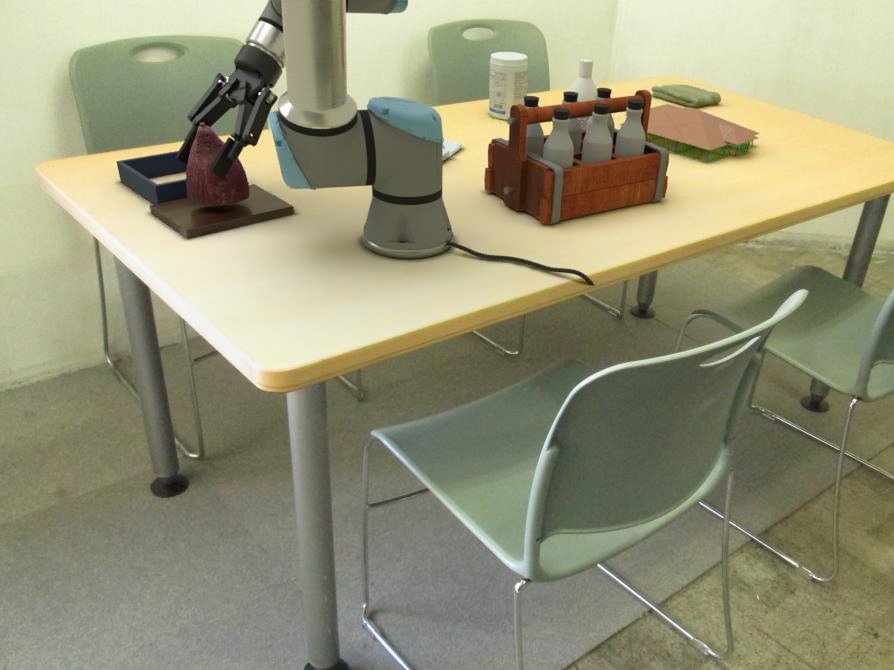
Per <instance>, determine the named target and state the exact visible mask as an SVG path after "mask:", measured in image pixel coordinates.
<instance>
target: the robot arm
mask: <svg viewBox="0 0 894 670" xmlns="http://www.w3.org/2000/svg"><path fill="white" fill-rule="evenodd" d="M408 6H409V0H268V1H267V3H266V5H265V7H264V8H263V10H262V12H261V14H260V16H259V18H258V19H257V20H256V22H255V23H254V25H253V26H252V28H251V30H250V32H249V33H248V35H247V36H246V38H245V40H244V41H245V44H242V46H241V47H240V49H239V50H238V53H237V54H236V55H235V57H234V59H233V63H234V68H235V69H234V71H233V72H232V73H231V74H230V75H229V76H225V75H223V74H222V73H221V72H218V73H217V74H216V75H215V77H214V79H213V81H212V83H211V85H210V86H209V88H208V89H207V90H206V91H205V92H204V94H203V95H202V96H201V97H200V99H199V100H198V102H197V103H196V104H195V105H194V106H193V108H192V109H191V110H190V112H189V113H188V114H187V116H186V119H187V120H188V121H189V122H190V123H191V127H190V129H189V131H188V132H187V134H186V135H185V137H184V141H183V142H182V145H181V146H180V148H179V150H177V151H178V153H177V155H176V157H175V158H177V159H178V160H179V161H181V162H182V163H184V164H185V165H186V166H187V164H188V159H189V155H190V151H191V147H192V145H193V142H194V140H195V138H196V134H197V130H198V128H199V126H201V125H200V123H202V124H205V125H206V126H209V127H210V128H211V127H212V126H213V125H214V124H216V122H218V121H219V120H220V119H221V118H222V117H223V116H224V115H225V114H227V112H228V111H229V110H230V109H235V108H236V107H238V110H237V115H236V120H235V125H234V131H233V133H230V134H229V136H230V137H229V136H228V137H227V138H226V140H225V142H224V143H225V144H224V146H223V147H222V149H221V151H220V153H219V154H218V156H217V158H216V160H215V161H214V163H213V165H212V166H211V168H210V170H209V171H211V172H212V173H213V174H215V175H216V176H217V177H219V178H220V179H222V180H224V178H225V176H226V174H227V173H228V171H229V169H230V168H231V166H232V164H233V162H235V161H236V160H237V158H238V159H239V157H240V155H241V153H242V152H243V150H244V148H246V147H248V146H252V147H256V146H257V145H258V143H259V140H260V138H261V135H262V133H263V131H264V127H265V126H266V123H267V120H268V122H269V126H270V131H271V135H272V139H273V143H274V148H275V151H276V156H277V160H278V166H279V168H280V172H281V177H282V180H283V182H284V184H285V185H286V186H287V187H289V188H290V189H294V190H311V191H316V190H317V189H333V188H350V187H351V188H352V187H368V186H369V187H370V186H371V201H370V203H369V208H368V212H367V216H366V220H365V223H364V225H363V229H362V239H363V240H362V241H363V244H364V246H365V247H366V249H369V250H370V251H372V252H374V253H376V254H379V255H381V256H385V257H391V258H396V259H423V258H428V257H429V258H430V257H434V256H437V255H440V254H442V253H444V252H446V251H448V250H449V249H451V247H453V248H455V249H458V250H460V251H462V252H465V253H467V254H470V255H472V256H473V257H477V258H481V259H487V260H496V261H508V262H515V263H520V264H524V265H527V266H531V267H533V268H535V269H536V268H537V269H540V270H543V271H547V272H551V273H561V274H562V273H563V274H571V275H574V276H575V275H576V276H578V277H580V278H581V279H582V280H584V281H585V282H586V283H587V285H589V286H592V287H593V286H595V283H594V282H593V281H592V279H591V278H590V277H589V276H587V274H585V273H584V272H582V271H580V270H577V269H573V268H566V267H565V268H564V267H553V266H548V265H545V264H541V263H539V262H535V261H532V260H529V259H525V258H521V257H516V256H510V255H497V254H489V253H488V254H487V253H482V252H479V251H476V250H474V249H472V248H469V247H467V246H465V245H462V244H459V243H456V242H455V241H454V232H453V228H452V225H451V221H450V218H449V215H448V212H447V208H446V205H445V202H444V198H443V161H442V160H443V142H444V141H445V139H444V131H443V122H442V121H443V120H442V116H441V115H440V113H439V112H438V111H437V110H436V109H435V108H433V107H432V106H430V105H428V104H427V103H423V102H420V101H416V100H413V99H409V98H402V97H396V96H378V97H372V98H369V100H368V102H367V104H366V109H358V105H357V102H356V100H355V99H354V98H353V97H352V96H350V95H349V94H348V80H347V79H348V72H347V71H348V69H347V67H348V64H347V59H348V58H347V14H375V15H377V14H378V15H386V16H387V15H390V14H402V13H404V12H405V11H406V10H407V8H408ZM283 69H285V75H286V91H285V92H283V93H282V94H281V95H280V97H278V95H277V94H276V93H275V92H274V91H272V90H271V89H274V88H275V86H276V85H277V84H278V81H279V79H280V78H281V76H282V75H283ZM276 102H277V110H274V111H271V110H272V108H273V107H274V106H275V104H276Z"/></svg>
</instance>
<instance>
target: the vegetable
mask: <svg viewBox="0 0 894 670" xmlns="http://www.w3.org/2000/svg"><path fill="white" fill-rule="evenodd" d="M200 125H201V126H199V128H198V130H197V134H196V138H195V140H194V142H193V145H192V147H191V151H190V155H189V159H188V164H187V170H186V171H185V179H186V185H187V196H188V198H189V199H190V200H191V201H194V202H196V203H198V204H201V205H206V206H220V205H230V204H235V203H238V202H240V201H242V200H245V199H247V198H248V197H249V195H250V194H249V185H250V184H249V180H248V176H247V174H246V171H245V168H244V166H243V164H242V162H241V160H240V159H239V157H238V158H237V160H236V161H235V162H233V164H232V166H231V168H230V169H229V171H228V173H227V174H226V176H225V178H224V180H222V179H220V178H219V177H217V176H216V175H215V174H213V173H212V172H211V171H209V170H210V168H211V166H212V165H213V163H214V161H215V160H216V158H217V156H218V154H219V153H220V151H221V149H222V147H223V146H224V144H225V142H224V141H223V140H222V139H221V138H220V137H219V136H218V134H217V133H216V132H215V130H214V129H212V128H211V127H209V126H206V125H205V124H204V123H203V124H202V123H200Z"/></svg>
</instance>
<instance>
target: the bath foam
mask: <svg viewBox="0 0 894 670" xmlns="http://www.w3.org/2000/svg"><path fill="white" fill-rule="evenodd" d="M593 67H594V60H593V59H590V58H580V59H579V67H578V76H577V78H576V79H575V81H574V83H573V84H572V85H571V87H570V89H569V91H570V92H576V93H578V98H577V101H578V102H584V101H593V100H596V99H595V97H596V96H597V88H598V87H597V86H596V84H595V82H594V79H593V78H592V77H593ZM589 117H590V116H588V117H581V118H578V119H579V121H580V124H581V127H582V130H586V128H587V122H588V119H589Z"/></svg>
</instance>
